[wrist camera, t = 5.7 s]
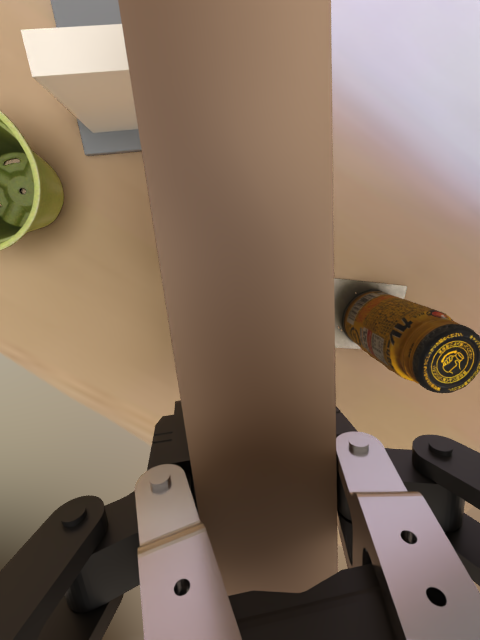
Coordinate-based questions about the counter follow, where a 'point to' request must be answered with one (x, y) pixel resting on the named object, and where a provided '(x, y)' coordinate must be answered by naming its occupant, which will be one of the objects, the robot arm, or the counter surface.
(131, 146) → the mat
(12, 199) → the plant pot
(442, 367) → the condiment
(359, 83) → the counter surface
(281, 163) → the push bar
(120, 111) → the tile
